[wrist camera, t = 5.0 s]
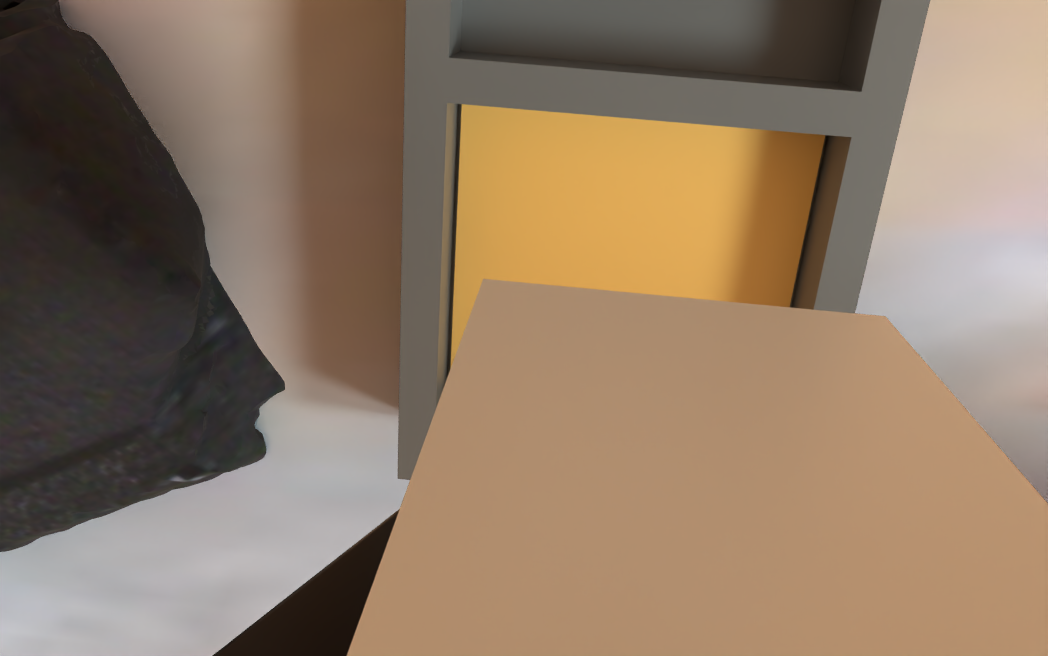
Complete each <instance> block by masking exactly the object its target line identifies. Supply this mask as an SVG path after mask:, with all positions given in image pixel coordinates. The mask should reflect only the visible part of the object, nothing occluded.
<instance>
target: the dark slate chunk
mask: <svg viewBox="0 0 1048 656" xmlns="http://www.w3.org/2000/svg"><path fill="white" fill-rule="evenodd" d="M283 390H285V384H284V381H283V379H282V378H281V376H280V375H279V374H278V372H277V371H276V370H275V369H274V367H273V366H272V365H271V363H270V362H269V361H268V360H267V358H266V357H265V356H264V354H263V353H262V351H261V350H260V349H259V347H258V346H257V344H256V342H255V340H254V339H253V337H252V335H251V333H250V331H249V329H248V327H247V326H246V324H245V322H244V321H243V319H242V317H241V315H240V314H239V312H238V310H237V309H236V307H235V306H234V304H233V303H232V301H231V300H230V298H229V296H228V295H227V293H226V291H225V290H224V288H223V287H222V285H221V283H220V281H219V280H218V278H217V276H216V275H215V273H214V272H213V270H212V268H211V266H210V258H209V254H208V251H207V247H206V243H205V228H204V225H203V221H202V215H201V213H200V210H199V208H198V206H197V204H196V202H195V200H194V199H193V197H192V195H191V193H190V191H189V190H188V188H187V186H186V184H185V183H184V181H183V179H182V178H181V176H180V174H179V172H178V170H177V168H176V166H175V164H174V161H173V159H172V157H171V155H170V154H169V152H168V151H167V150H166V148H165V147H164V146H163V144H162V143H161V142H160V140H159V139H158V138H157V137H156V135H155V134H154V132H153V131H152V129H151V127H150V125H149V124H148V122H147V120H146V118H145V117H144V115H143V114H142V112H141V111H140V110H139V108H138V106H137V105H136V103H135V101H134V100H133V98H132V97H131V95H130V93H129V92H128V90H127V88H126V86H125V85H124V83H123V81H122V79H121V78H120V76H119V74H118V73H117V71H116V70H115V68H114V66H113V65H112V63H111V61H110V60H109V58H108V57H107V55H106V54H105V52H104V51H103V50H102V49H101V47H100V46H99V45H98V44H97V43H96V42H95V40H94V39H93V38H91V37H90V36H89V35H87V34H85V33H83V32H79V31H75V30H71V29H70V28H69V27H68V26H67V24H66V23H65V22H64V21H63V19H62V16H61V12H60V7H59V2H58V0H0V552H4V551H10V550H13V549H16V548H19V547H23V546H25V545H27V544H29V543H31V542H33V541H35V540H36V539H38V538H40V537H42V536H45V535H49V534H53V533H56V532H61V531H65V530H68V529H70V528H72V527H74V526H76V525H78V524H81V523H83V522H86V521H88V520H90V519H94V518H98V517H101V516H104V515H107V514H110V513H112V512H115V511H117V510H119V509H122V508H124V507H127V506H129V505H131V504H134V503H137V502H139V501H142V500H147V499H150V498H154V497H157V496H159V495H163V494H165V493H167V492H169V491H171V490H173V489H178V488H184V487H188V486H191V485H194V484H198V483H201V482H204V481H208V480H210V479H213V478H215V477H217V476H219V475H221V474H223V473H224V472H230V471H233V470H236V469H238V468H240V467H244V466H247V465H250V464H252V463H254V462H257V461H259V460H261V459H262V458H263V457H264V456H265V454H266V446H265V442H264V438H263V435H262V433H261V432H259V431H258V430H257V429H255V425H254V424H255V421H256V420H257V418H258V416H259V414H260V413H259V408H260V407H261V406H262V405H263V404H264V403H265V402H266V401H267V400H268V399H270V398H271V397H272V396H274V395H275V394H277V393H279V392H281V391H283Z"/></svg>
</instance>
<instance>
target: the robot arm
mask: <svg viewBox="0 0 1048 656" xmlns="http://www.w3.org/2000/svg"><path fill="white" fill-rule="evenodd" d="M399 510H400V509H399ZM399 510H398V511H396V512H395V513H394V514H393V515H391V516H390V517H389V518H388V519H386V520H385V521H384V522H382V523H381V524H380V525H379V526H377V527H376V528H375V529H373V530H372V531H371V532H370V533H368V534H367V535H366V536H365V537H363V538H362V539H361V540H359V541H358V542H357V543H356V544H354V545H353V546H352V547H351V548H349V549H348V550H347V551H345V552H344V553H343V554H342V555H340V556H339V557H338V558H337V559H335V560H334V561H333V562H331V563H330V564H329V565H328V566H326V567H325V568H324V569H322V570H321V571H320V572H319V573H317V574H316V575H315V576H314V577H312V578H311V579H310V580H308V581H307V582H306V583H305V584H303V585H302V586H301V587H300V588H298V589H297V590H296V591H294V592H293V593H292V594H291V595H289V596H288V597H287V598H286V599H284V600H283V601H282V602H280V603H279V604H278V605H277V606H275V607H274V608H273V609H271V610H270V611H269V612H268V613H266V614H265V615H264V616H263V617H261V618H260V619H259V620H257V621H256V622H255V623H254V624H252V625H251V626H250V627H249V628H247V629H246V630H245V631H243V632H242V633H241V634H240V635H238V636H237V637H236V638H235V639H233V640H232V641H231V642H229V643H228V644H227V645H226V646H224V647H223V648H222V649H220V650H219V651H218V652H217V653H215V654H214V655H213V656H347V654H348V651H349V648H350V645H351V642H352V640H353V637H354V634H355V631H356V629H357V626H358V623H359V620H360V618H361V615H362V612H363V609H364V607H365V604H366V601H367V598H368V596H369V593H370V590H371V587H372V584H373V582H374V579H375V576H376V573H377V571H378V568H379V565H380V562H381V560H382V557H383V554H384V551H385V549H386V546H387V543H388V540H389V538H390V535H391V532H392V529H393V526H394V524H395V521H396V518H397V515H398V513H399Z"/></svg>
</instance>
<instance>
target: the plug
mask: <svg viewBox="0 0 1048 656" xmlns="http://www.w3.org/2000/svg"><path fill="white" fill-rule="evenodd" d="M347 656H1048V503H1047V502H1046V501H1045V500H1044V499H1043V498H1042V496H1041V495H1040V494H1039V493H1038V492H1037V491H1036V490H1035V488H1034V487H1033V486H1032V485H1031V484H1030V483H1029V481H1028V480H1027V479H1026V478H1025V477H1024V476H1023V475H1022V473H1021V472H1020V471H1019V470H1018V469H1017V468H1016V466H1015V465H1014V464H1013V463H1012V462H1011V461H1010V460H1009V458H1008V457H1007V456H1006V455H1005V454H1004V453H1003V451H1002V450H1001V449H1000V448H999V447H998V446H997V445H996V443H995V442H994V441H993V440H992V439H991V438H990V436H989V435H988V434H987V433H986V432H985V431H984V430H983V428H982V427H981V426H980V425H979V424H978V423H977V421H976V420H975V419H974V418H973V417H972V416H971V415H970V413H969V412H968V411H967V410H966V409H965V408H964V406H963V405H962V404H961V403H960V402H959V401H958V400H957V398H956V397H955V396H954V395H953V394H952V393H951V391H950V390H949V389H948V388H947V387H946V386H945V385H944V383H943V382H942V381H941V380H940V379H939V378H938V376H937V375H936V374H935V373H934V372H933V371H932V370H931V368H930V367H929V366H928V365H927V364H926V363H925V361H924V360H923V359H922V358H921V357H920V356H919V355H918V353H917V352H916V351H915V350H914V349H913V348H912V346H911V345H910V344H909V343H908V342H907V341H906V340H905V338H904V337H903V336H902V335H901V334H900V333H899V332H898V330H897V329H896V328H895V327H894V326H893V325H892V323H891V322H890V321H889V320H888V319H887V318H886V317H885V316H876V315H865V314H855V313H844V312H833V311H822V310H812V309H801V308H790V307H780V306H769V305H758V304H748V303H737V302H726V301H715V300H705V299H694V298H683V297H673V296H662V295H651V294H641V293H630V292H619V291H608V290H598V289H587V288H576V287H566V286H555V285H544V284H534V283H523V282H512V281H501V280H491V279H483V281H482V283H481V286H480V289H479V292H478V294H477V297H476V300H475V303H474V306H473V308H472V311H471V314H470V317H469V319H468V322H467V325H466V328H465V330H464V333H463V336H462V339H461V341H460V344H459V347H458V350H457V352H456V355H455V358H454V361H453V364H452V366H451V369H450V372H449V375H448V377H447V380H446V383H445V386H444V388H443V391H442V394H441V397H440V399H439V402H438V405H437V408H436V410H435V413H434V416H433V419H432V422H431V424H430V427H429V430H428V433H427V435H426V438H425V441H424V444H423V446H422V449H421V452H420V455H419V457H418V460H417V463H416V466H415V468H414V471H413V474H412V477H411V480H410V482H409V485H408V488H407V491H406V493H405V496H404V499H403V502H402V504H401V507H400V510H399V513H398V515H397V518H396V521H395V524H394V526H393V529H392V532H391V535H390V538H389V540H388V543H387V546H386V549H385V551H384V554H383V557H382V560H381V562H380V565H379V568H378V571H377V573H376V576H375V579H374V582H373V584H372V587H371V590H370V593H369V596H368V598H367V601H366V604H365V607H364V609H363V612H362V615H361V618H360V620H359V623H358V626H357V629H356V631H355V634H354V637H353V640H352V642H351V645H350V648H349V651H348V654H347Z"/></svg>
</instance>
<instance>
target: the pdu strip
mask: <svg viewBox="0 0 1048 656" xmlns="http://www.w3.org/2000/svg"><path fill="white" fill-rule="evenodd" d="M929 3H930V0H406V24H405V82H404V141H403V199H402V258H401V316H400V375H399V433H398V479H407V480H411V477H412V474H413V471H414V468H415V466H416V463H417V460H418V457H419V455H420V452H421V449H422V446H423V444H424V441H425V438H426V435H427V433H428V430H429V427H430V424H431V422H432V419H433V416H434V413H435V410H436V408H437V405H438V402H439V399H440V397H441V394H442V391H443V388H444V386H445V383H446V380H447V377H448V375H449V372H450V369H451V366H452V364H453V361H454V358H455V355H456V352H457V350H458V347H459V344H460V341H461V339H462V336H463V333H464V330H465V328H466V325H467V322H468V319H469V317H470V314H471V311H472V308H473V306H474V303H475V300H476V297H477V294H478V292H479V289H480V286H481V283H482V281H483V279H491V280H501V281H512V282H523V283H534V284H544V285H555V286H566V287H576V288H587V289H598V290H608V291H619V292H630V293H641V294H651V295H662V296H673V297H683V298H694V299H705V300H715V301H726V302H737V303H748V304H758V305H769V306H780V307H790V308H801V309H812V310H822V311H833V312H844V313H855V310H856V306H857V302H858V297H859V293H860V289H861V285H862V281H863V277H864V272H865V268H866V264H867V260H868V256H869V252H870V248H871V243H872V239H873V235H874V231H875V227H876V223H877V219H878V214H879V210H880V206H881V202H882V198H883V194H884V189H885V185H886V181H887V177H888V173H889V169H890V165H891V160H892V156H893V152H894V148H895V144H896V140H897V136H898V131H899V127H900V123H901V119H902V115H903V111H904V106H905V102H906V98H907V94H908V90H909V86H910V82H911V77H912V73H913V69H914V65H915V61H916V57H917V53H918V48H919V44H920V40H921V36H922V32H923V28H924V23H925V19H926V15H927V11H928V7H929Z"/></svg>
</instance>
